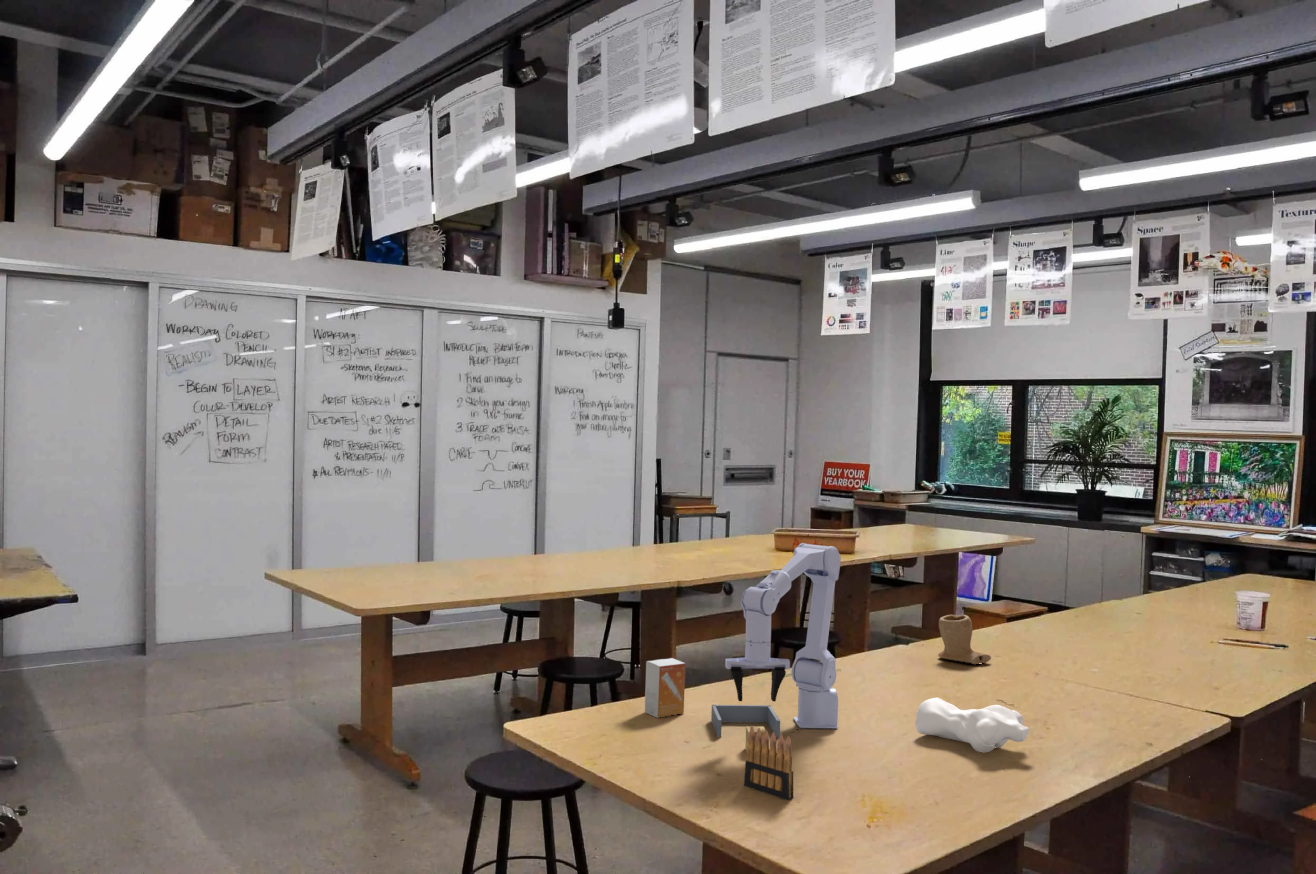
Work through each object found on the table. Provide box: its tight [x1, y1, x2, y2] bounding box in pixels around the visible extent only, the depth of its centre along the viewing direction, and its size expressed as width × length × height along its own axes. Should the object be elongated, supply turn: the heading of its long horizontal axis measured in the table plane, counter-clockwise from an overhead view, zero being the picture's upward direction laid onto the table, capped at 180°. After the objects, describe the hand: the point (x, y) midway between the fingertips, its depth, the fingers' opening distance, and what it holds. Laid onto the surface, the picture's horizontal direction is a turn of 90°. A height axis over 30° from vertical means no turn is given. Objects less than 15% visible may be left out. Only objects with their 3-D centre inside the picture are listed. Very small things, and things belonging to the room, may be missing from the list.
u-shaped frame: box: [710, 704, 781, 739], centre depth 230 cm, size 15×13×4 cm
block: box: [744, 725, 766, 752], centre depth 213 cm, size 4×4×5 cm
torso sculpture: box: [914, 697, 1030, 753], centre depth 222 cm, size 18×10×25 cm
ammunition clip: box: [743, 725, 794, 801], centre depth 189 cm, size 11×2×12 cm, turn 48°
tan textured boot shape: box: [937, 614, 992, 665], centre depth 308 cm, size 15×12×15 cm
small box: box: [644, 657, 686, 719], centre depth 241 cm, size 8×6×13 cm
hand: (756, 700), depth 218 cm, fingers open, 7 cm apart
